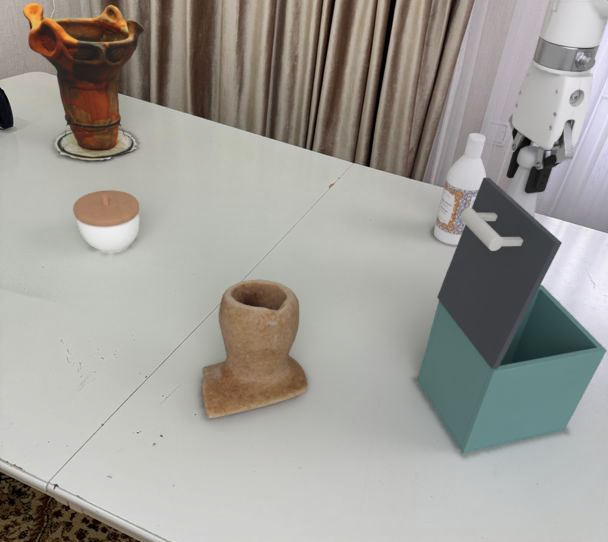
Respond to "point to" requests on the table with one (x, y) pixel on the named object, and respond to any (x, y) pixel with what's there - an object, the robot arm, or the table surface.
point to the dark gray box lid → (496, 270)
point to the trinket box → (108, 219)
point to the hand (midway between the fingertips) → (525, 183)
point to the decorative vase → (87, 76)
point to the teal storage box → (510, 377)
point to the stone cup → (255, 350)
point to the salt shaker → (524, 179)
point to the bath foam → (460, 190)
